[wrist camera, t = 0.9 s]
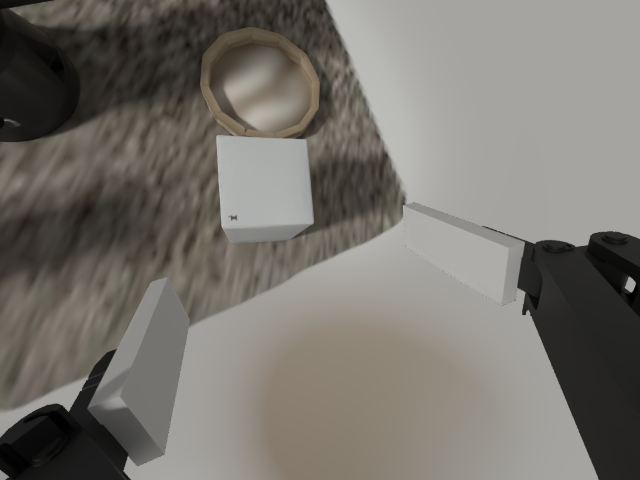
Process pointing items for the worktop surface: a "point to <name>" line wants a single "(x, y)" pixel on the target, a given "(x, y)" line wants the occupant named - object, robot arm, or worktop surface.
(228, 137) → the supplement box
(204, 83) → the tan plate
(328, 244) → the worktop surface
